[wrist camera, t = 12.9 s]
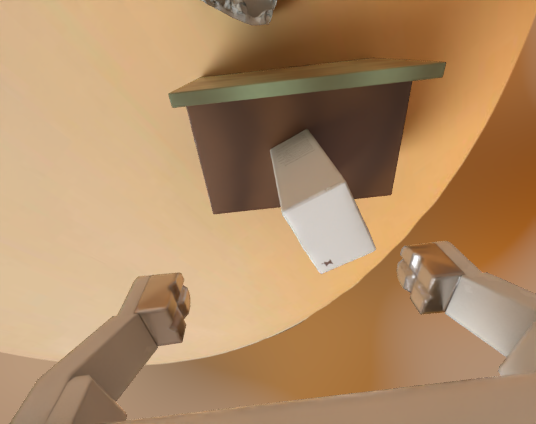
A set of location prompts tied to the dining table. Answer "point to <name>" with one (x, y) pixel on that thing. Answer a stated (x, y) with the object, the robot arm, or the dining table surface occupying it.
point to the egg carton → (246, 10)
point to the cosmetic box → (318, 204)
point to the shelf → (300, 124)
